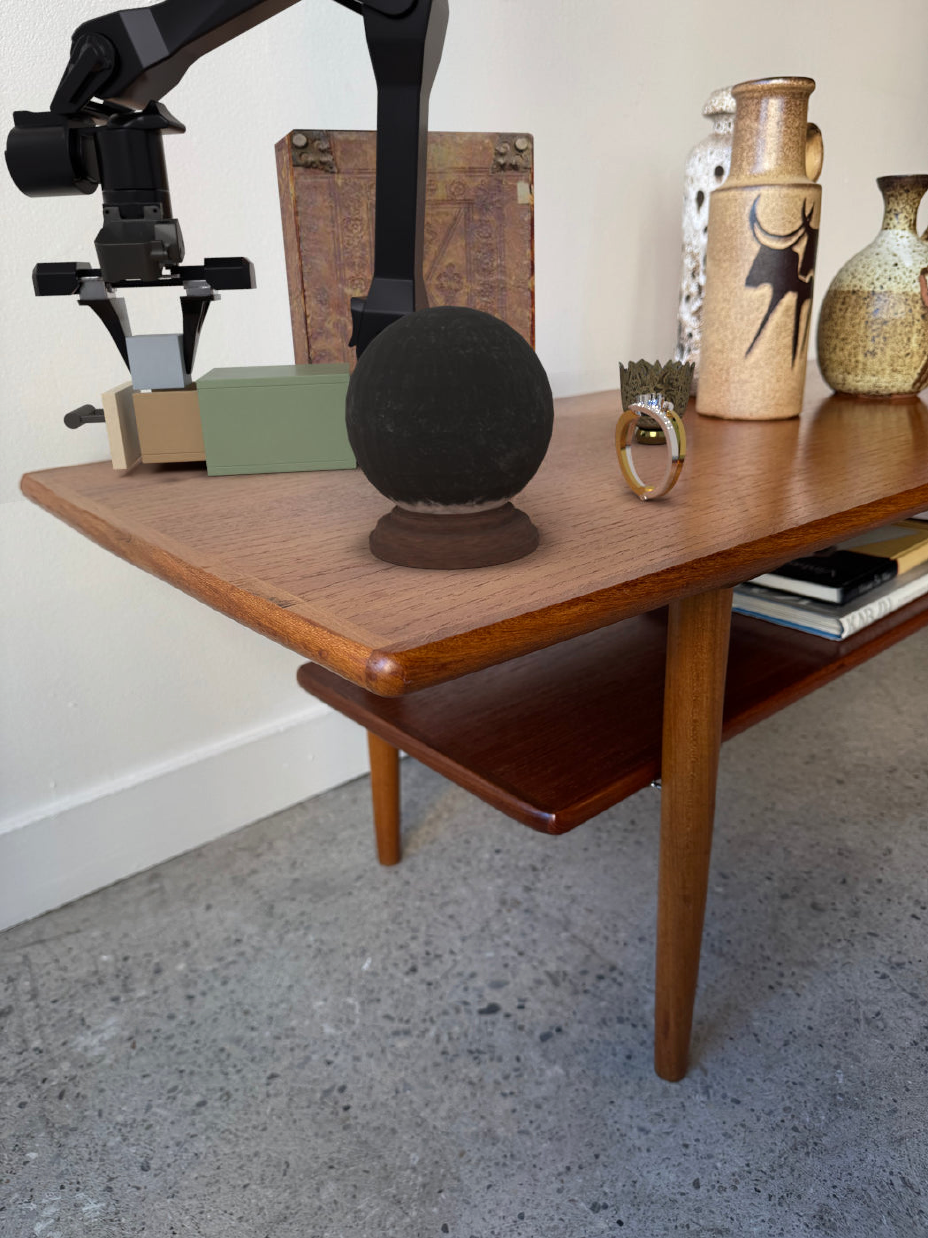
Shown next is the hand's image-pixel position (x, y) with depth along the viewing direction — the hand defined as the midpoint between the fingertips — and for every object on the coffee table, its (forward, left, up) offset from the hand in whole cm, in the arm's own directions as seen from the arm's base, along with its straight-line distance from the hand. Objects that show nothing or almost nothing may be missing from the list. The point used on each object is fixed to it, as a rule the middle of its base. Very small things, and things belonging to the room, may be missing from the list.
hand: (162, 375), depth 86 cm
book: (-25, -14, -9) cm, 30 cm away
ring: (-40, +24, -9) cm, 47 cm away
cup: (-48, 0, -9) cm, 49 cm away
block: (0, 0, -1) cm, 1 cm away
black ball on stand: (-24, +33, -9) cm, 42 cm away
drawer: (0, 0, -8) cm, 8 cm away
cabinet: (-11, 0, -9) cm, 14 cm away
